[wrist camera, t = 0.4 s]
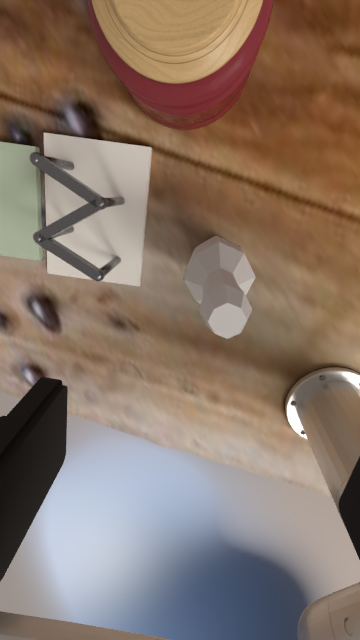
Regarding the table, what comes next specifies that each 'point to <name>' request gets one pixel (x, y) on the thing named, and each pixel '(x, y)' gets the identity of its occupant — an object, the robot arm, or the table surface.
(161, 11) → the canister
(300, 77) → the table surface
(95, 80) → the table surface
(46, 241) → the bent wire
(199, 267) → the faceted bottle
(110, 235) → the wire board
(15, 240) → the pale green flat panel
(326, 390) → the robot arm
